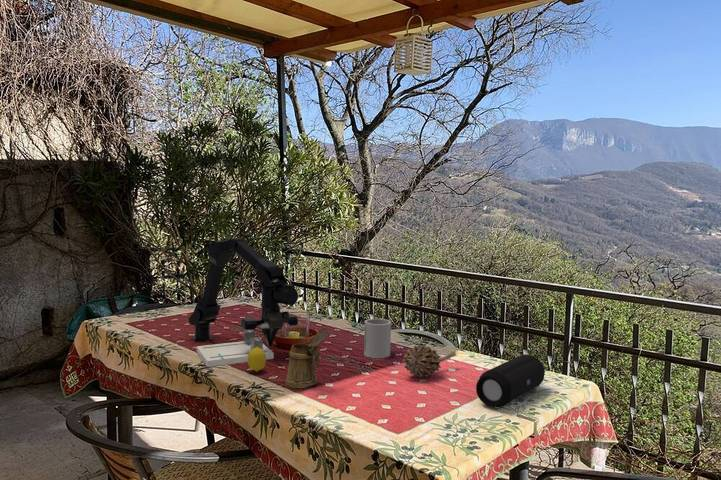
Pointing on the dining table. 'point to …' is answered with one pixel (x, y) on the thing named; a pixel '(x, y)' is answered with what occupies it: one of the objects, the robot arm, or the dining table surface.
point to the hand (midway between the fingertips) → (269, 346)
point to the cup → (377, 338)
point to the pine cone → (424, 360)
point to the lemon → (256, 359)
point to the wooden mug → (304, 362)
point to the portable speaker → (510, 380)
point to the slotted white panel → (228, 353)
